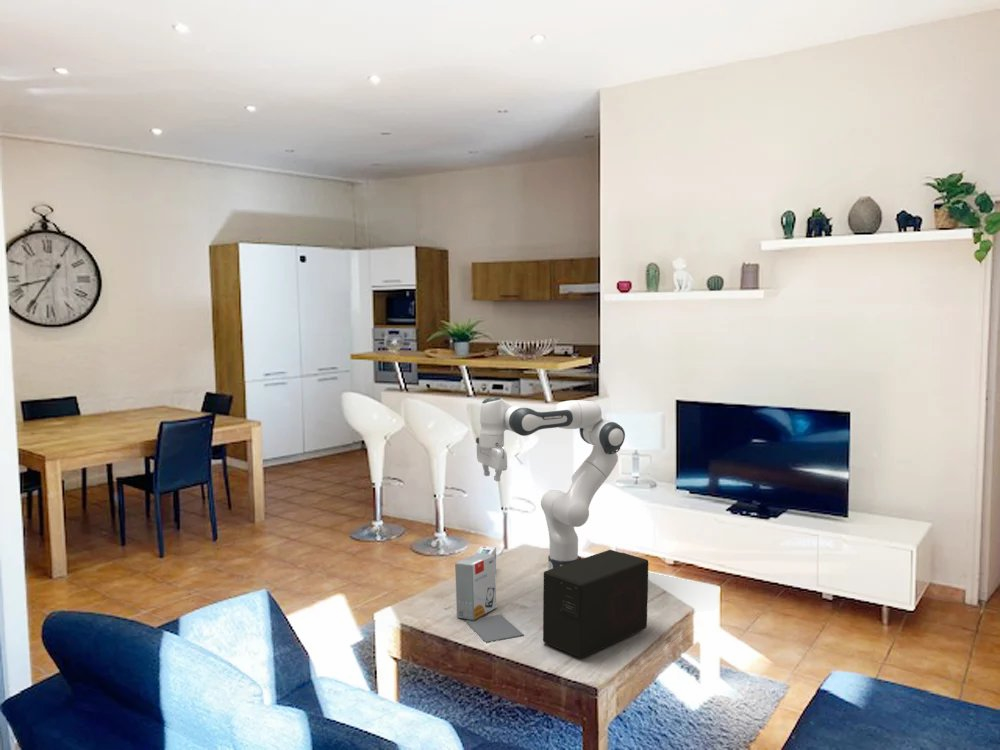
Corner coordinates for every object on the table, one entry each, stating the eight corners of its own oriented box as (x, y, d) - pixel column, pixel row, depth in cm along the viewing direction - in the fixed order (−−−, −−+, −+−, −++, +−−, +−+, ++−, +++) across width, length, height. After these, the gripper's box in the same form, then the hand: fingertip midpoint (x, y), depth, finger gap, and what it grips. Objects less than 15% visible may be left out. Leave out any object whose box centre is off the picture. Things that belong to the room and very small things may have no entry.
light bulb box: (491, 580, 314) (491, 554, 314) (475, 579, 316) (475, 553, 315) (496, 571, 325) (496, 546, 324) (481, 570, 326) (481, 545, 325)
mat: (500, 615, 278) (500, 614, 278) (523, 635, 261) (523, 634, 261) (464, 621, 272) (464, 620, 272) (485, 642, 255) (485, 641, 255)
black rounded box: (607, 612, 281) (608, 545, 279) (651, 628, 267) (652, 558, 265) (535, 642, 256) (536, 569, 254) (580, 662, 242) (580, 584, 240)
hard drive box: (474, 621, 271) (471, 565, 270) (456, 618, 275) (453, 563, 274) (497, 607, 284) (494, 554, 284) (480, 604, 288) (477, 551, 288)
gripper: (511, 445, 275) (511, 483, 277) (488, 436, 294) (488, 472, 295) (495, 446, 273) (495, 484, 274) (473, 437, 291) (473, 473, 292)
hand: (491, 478), depth 285 cm, fingers open, 8 cm apart
